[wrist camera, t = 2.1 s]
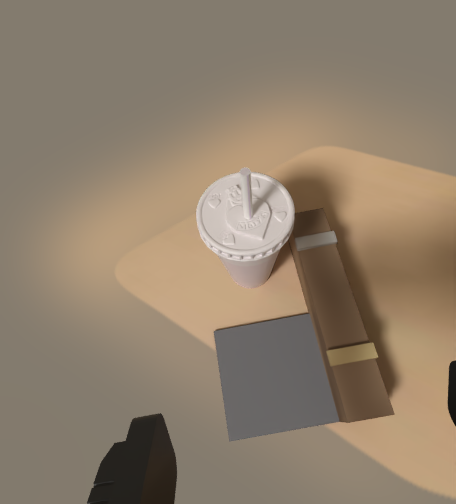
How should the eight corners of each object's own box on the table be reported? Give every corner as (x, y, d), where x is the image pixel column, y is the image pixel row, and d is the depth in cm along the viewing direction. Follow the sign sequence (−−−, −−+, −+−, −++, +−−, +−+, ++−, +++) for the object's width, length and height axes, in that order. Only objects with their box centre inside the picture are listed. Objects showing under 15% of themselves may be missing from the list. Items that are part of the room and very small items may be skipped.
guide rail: (318, 225, 31) (324, 205, 28) (381, 413, 24) (398, 414, 21) (285, 232, 31) (287, 212, 28) (337, 421, 24) (348, 423, 21)
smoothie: (233, 316, 28) (209, 238, 15) (203, 255, 31) (162, 147, 18) (300, 283, 29) (328, 183, 16) (264, 226, 31) (265, 103, 19)
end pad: (309, 314, 27) (309, 313, 27) (338, 421, 24) (339, 421, 24) (214, 332, 28) (213, 331, 27) (229, 440, 24) (229, 441, 24)
